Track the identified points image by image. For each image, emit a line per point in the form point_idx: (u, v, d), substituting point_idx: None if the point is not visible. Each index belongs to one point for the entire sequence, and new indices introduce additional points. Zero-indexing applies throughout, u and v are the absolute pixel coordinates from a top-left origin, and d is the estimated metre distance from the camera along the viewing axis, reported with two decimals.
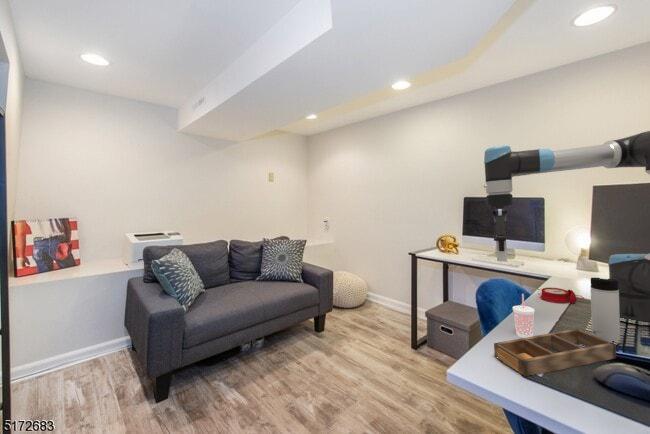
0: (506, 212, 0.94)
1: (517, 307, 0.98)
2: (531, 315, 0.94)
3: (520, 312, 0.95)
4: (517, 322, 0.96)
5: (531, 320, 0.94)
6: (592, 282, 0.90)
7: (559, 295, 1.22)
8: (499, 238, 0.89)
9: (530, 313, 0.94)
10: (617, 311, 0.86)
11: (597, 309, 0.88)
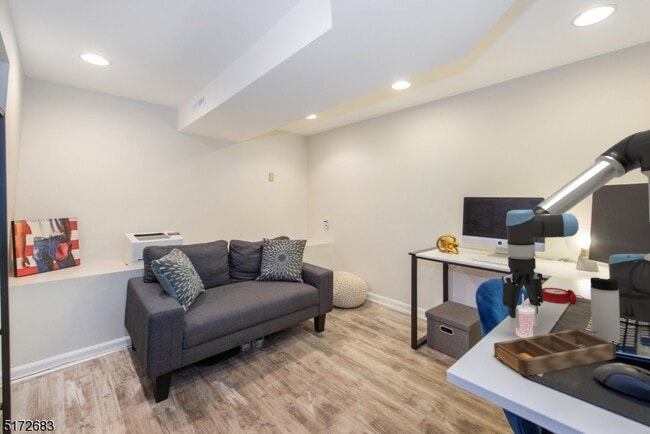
0: (521, 277, 0.94)
1: (517, 307, 0.98)
2: (531, 315, 0.94)
3: (520, 312, 0.95)
4: None
5: (531, 320, 0.94)
6: (592, 282, 0.90)
7: (559, 295, 1.22)
8: (504, 304, 0.96)
9: (530, 313, 0.94)
10: (617, 311, 0.86)
11: (597, 309, 0.88)
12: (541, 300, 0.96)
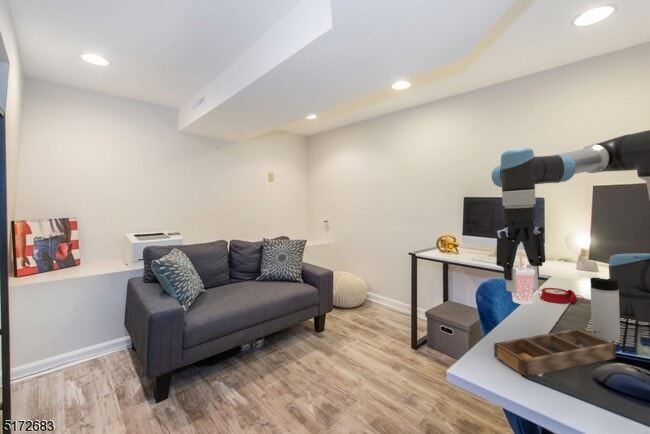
0: (519, 231, 0.78)
1: None
2: (530, 276, 0.78)
3: (517, 273, 0.78)
4: None
5: (530, 282, 0.78)
6: (592, 282, 0.90)
7: (560, 295, 1.22)
8: (498, 264, 0.79)
9: (529, 274, 0.77)
10: (617, 311, 0.86)
11: (597, 309, 0.88)
12: (543, 259, 0.80)
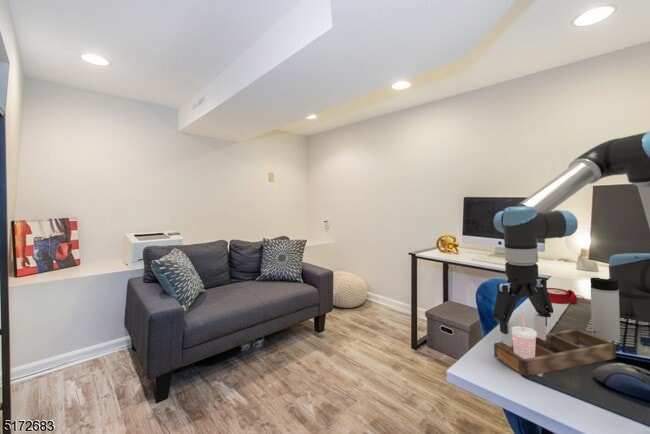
0: (521, 287, 0.78)
1: (516, 328, 0.82)
2: (533, 339, 0.78)
3: (519, 335, 0.79)
4: (516, 347, 0.80)
5: (533, 345, 0.78)
6: (592, 282, 0.90)
7: (560, 295, 1.21)
8: (494, 318, 0.79)
9: (531, 337, 0.78)
10: (617, 311, 0.86)
11: (597, 309, 0.88)
12: (551, 310, 0.81)
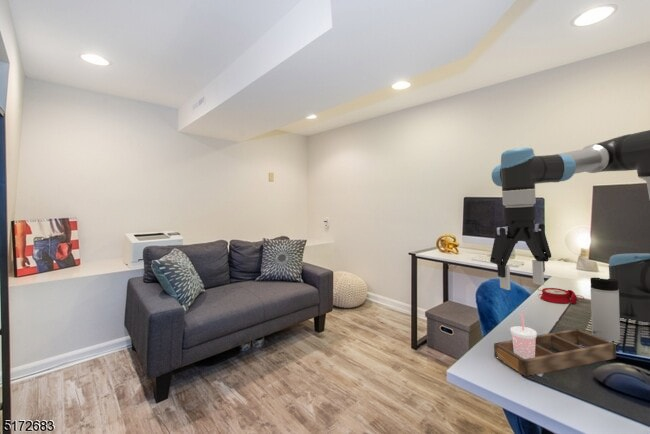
0: (519, 230, 0.77)
1: (516, 328, 0.83)
2: (532, 339, 0.78)
3: (519, 335, 0.79)
4: (516, 347, 0.80)
5: (532, 345, 0.79)
6: (592, 282, 0.90)
7: (560, 295, 1.21)
8: (492, 261, 0.79)
9: (531, 337, 0.78)
10: (617, 311, 0.86)
11: (597, 309, 0.88)
12: (548, 255, 0.80)
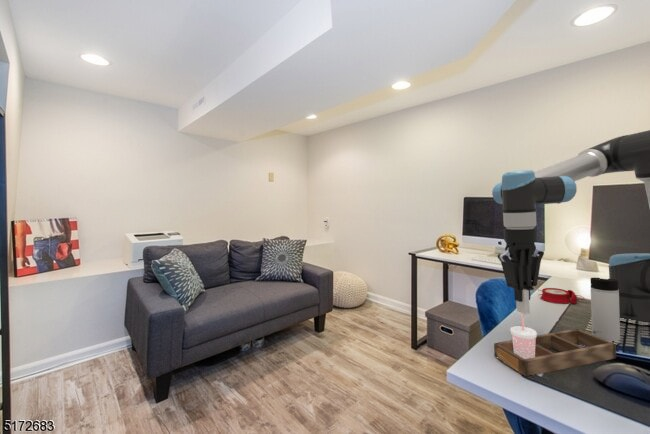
0: (520, 253, 0.78)
1: (516, 328, 0.83)
2: (532, 339, 0.78)
3: (519, 335, 0.79)
4: (516, 347, 0.80)
5: (532, 345, 0.79)
6: (592, 282, 0.90)
7: (560, 295, 1.21)
8: (509, 286, 0.80)
9: (531, 337, 0.78)
10: (617, 311, 0.86)
11: (597, 309, 0.88)
12: (534, 283, 0.80)
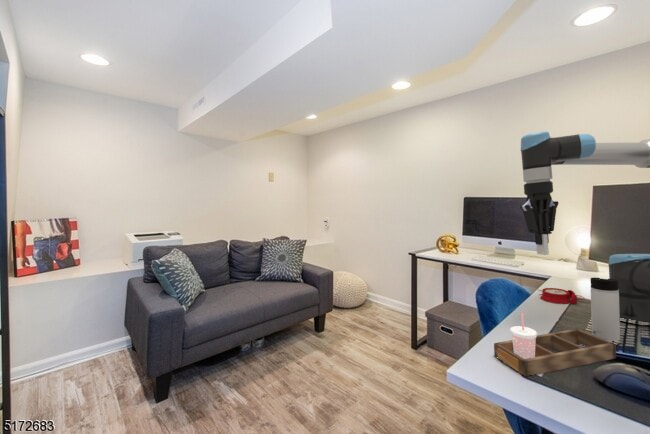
0: (539, 202, 0.92)
1: (516, 328, 0.83)
2: (532, 339, 0.78)
3: (519, 335, 0.79)
4: (516, 347, 0.80)
5: (532, 345, 0.79)
6: (592, 282, 0.90)
7: (560, 295, 1.21)
8: (530, 232, 0.94)
9: (531, 337, 0.78)
10: (617, 311, 0.86)
11: (597, 309, 0.88)
12: (552, 228, 0.94)
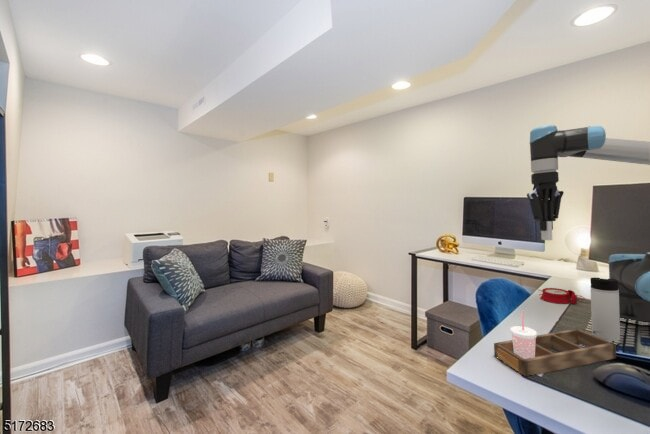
0: (545, 191, 0.99)
1: (516, 328, 0.83)
2: (532, 339, 0.78)
3: (519, 335, 0.79)
4: (516, 347, 0.80)
5: (532, 345, 0.79)
6: (592, 282, 0.90)
7: (560, 295, 1.21)
8: (536, 218, 1.01)
9: (531, 337, 0.78)
10: (617, 311, 0.86)
11: (597, 309, 0.88)
12: (556, 216, 1.01)
